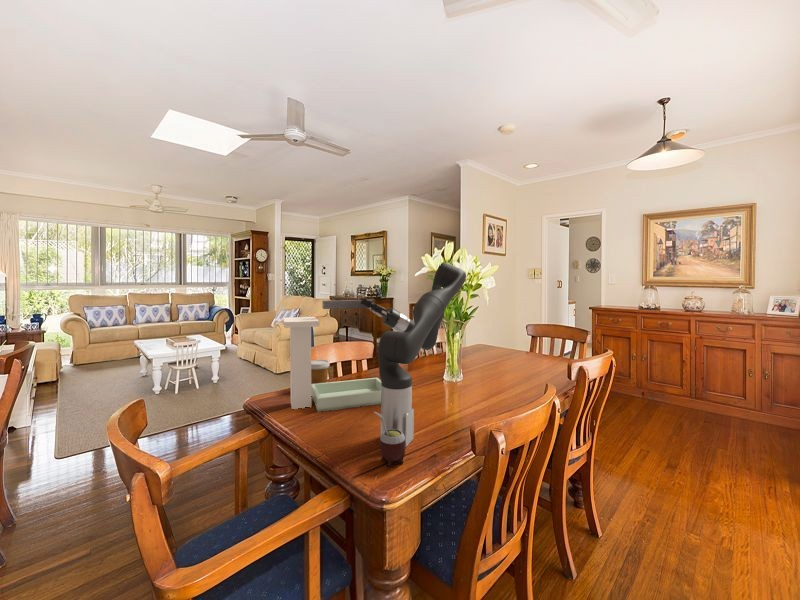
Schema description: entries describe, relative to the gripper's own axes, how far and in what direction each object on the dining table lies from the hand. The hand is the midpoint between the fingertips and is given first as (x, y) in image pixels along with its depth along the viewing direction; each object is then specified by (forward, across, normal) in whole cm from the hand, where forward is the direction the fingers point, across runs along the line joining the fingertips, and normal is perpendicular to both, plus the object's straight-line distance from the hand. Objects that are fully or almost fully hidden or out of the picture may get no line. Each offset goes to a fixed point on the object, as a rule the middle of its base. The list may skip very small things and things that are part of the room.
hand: (361, 300), depth 140 cm
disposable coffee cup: (-7, -17, +42) cm, 46 cm away
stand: (+1, 0, +46) cm, 46 cm away
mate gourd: (-15, +50, +37) cm, 64 cm away
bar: (+3, 0, +5) cm, 6 cm away
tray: (-16, 0, +37) cm, 40 cm away
